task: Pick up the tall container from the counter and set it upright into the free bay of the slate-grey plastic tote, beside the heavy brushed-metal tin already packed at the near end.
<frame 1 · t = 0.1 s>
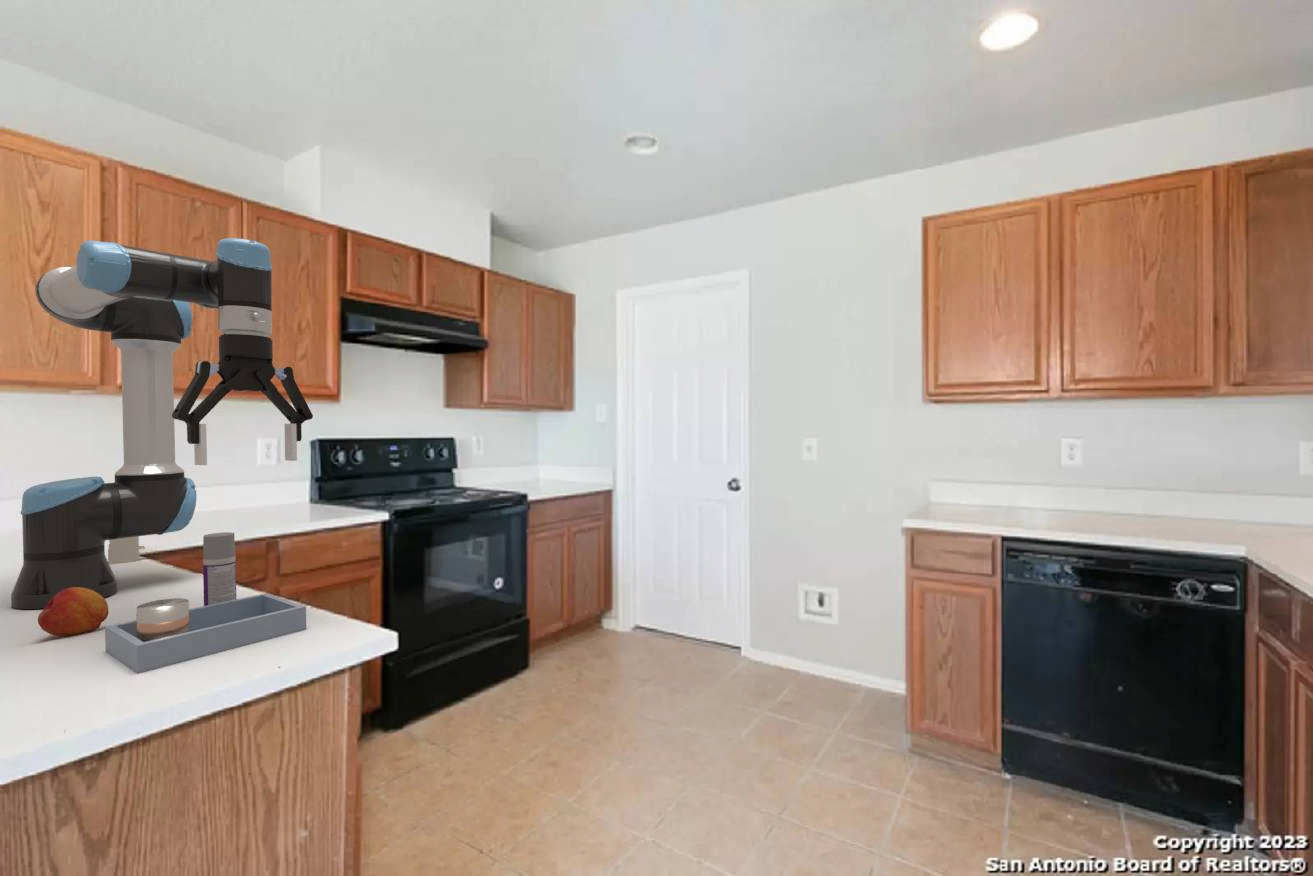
hand: (248, 462, 105), 28 cm above the countertop, fingers open, 13 cm apart
tin: (164, 651, 93), point 1 cm above the countertop, touching tote
tote: (211, 644, 98), on the countertop
container: (220, 620, 110), on the countertop
architectural model: (123, 565, 156), on the countertop
fruit: (75, 637, 102), on the countertop
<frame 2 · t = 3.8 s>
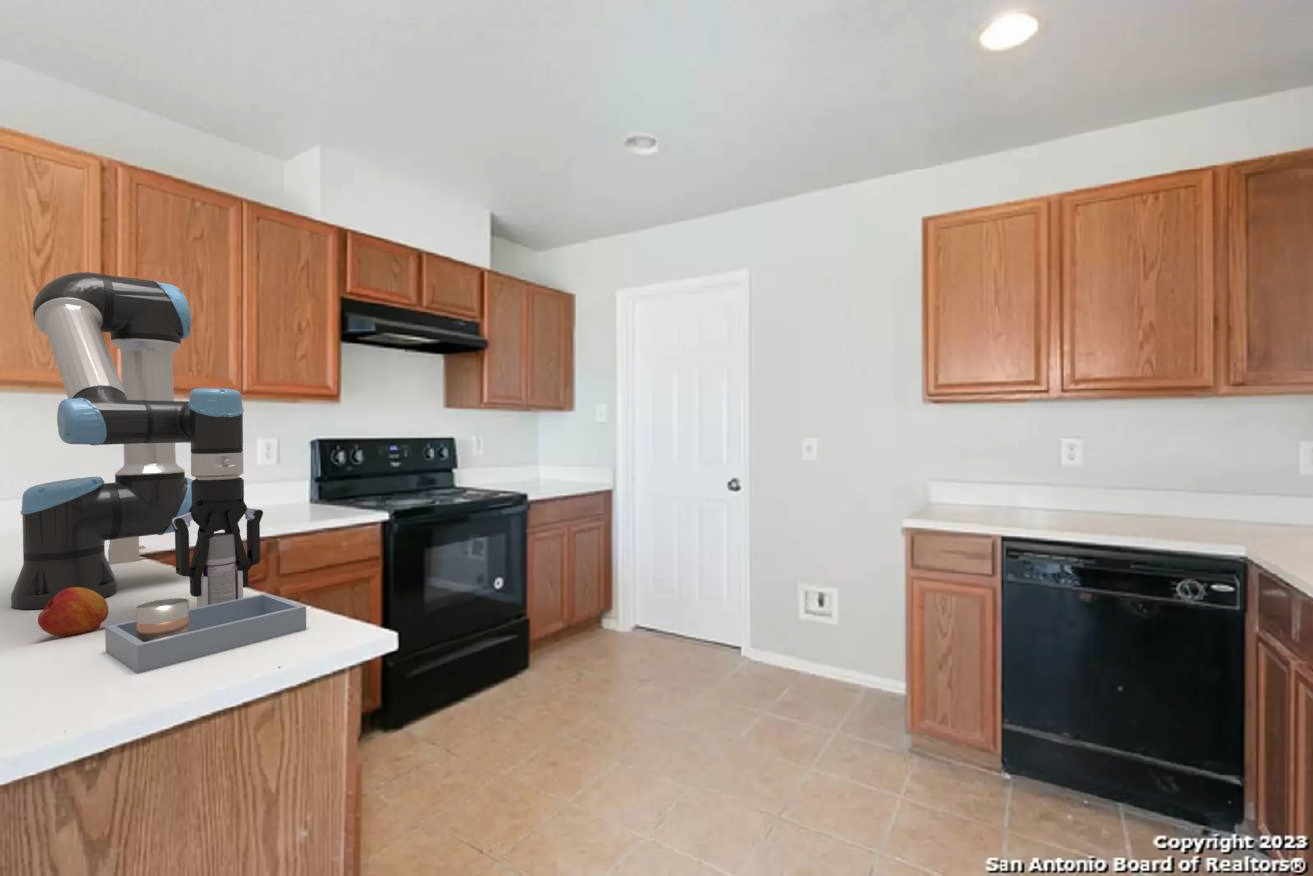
hand: (220, 609, 110), 2 cm above the countertop, fingers closed on container, 5 cm apart
container: (220, 620, 110), on the countertop, touching gripper
everything else where it was.
when the fingers open (5 cm above the countertop, at t = 9.8 s): container drops 2 cm, resting on tote.
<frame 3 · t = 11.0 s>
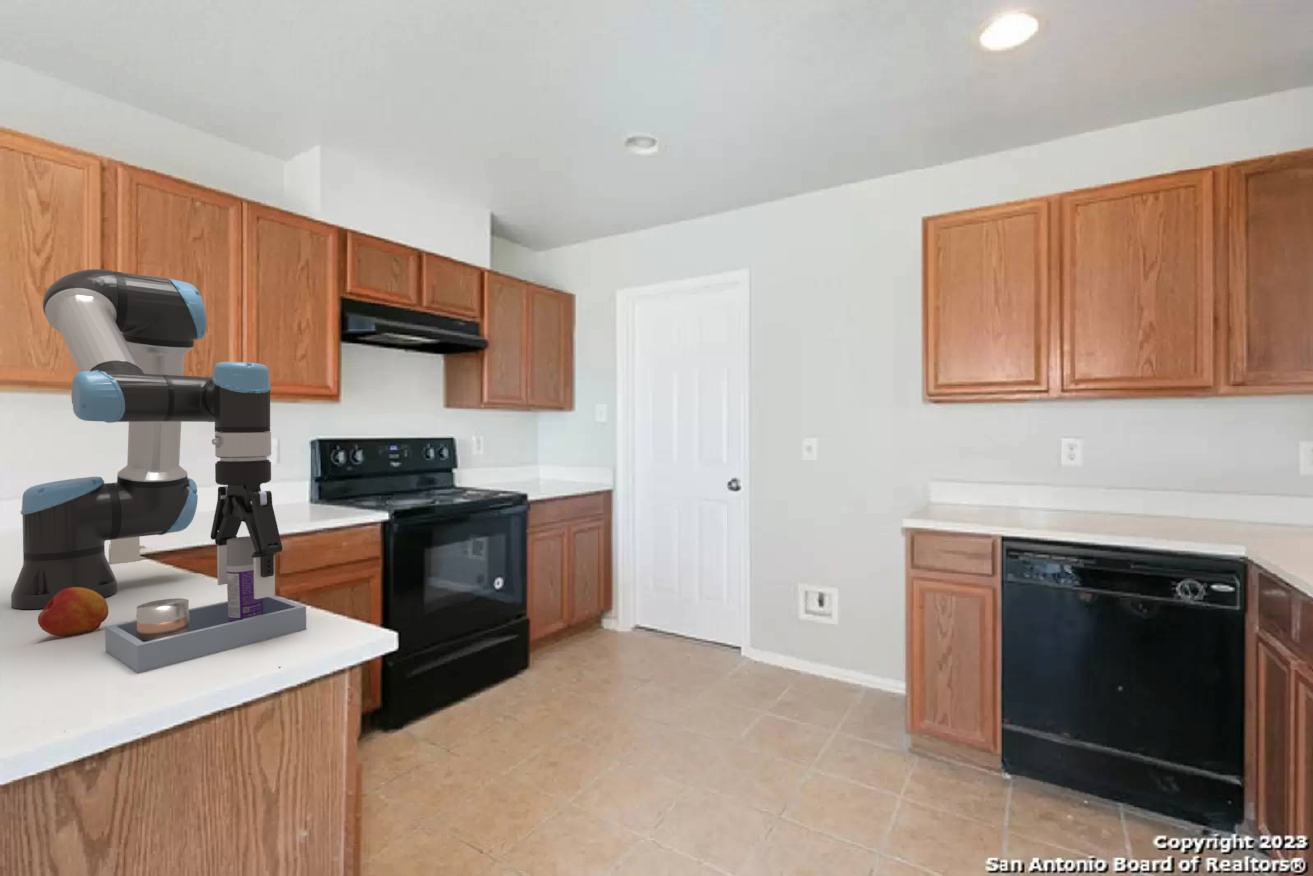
hand: (245, 590, 102), 7 cm above the countertop, fingers open, 13 cm apart
container: (246, 632, 102), point 1 cm above the countertop, touching tote
everything else where it was.
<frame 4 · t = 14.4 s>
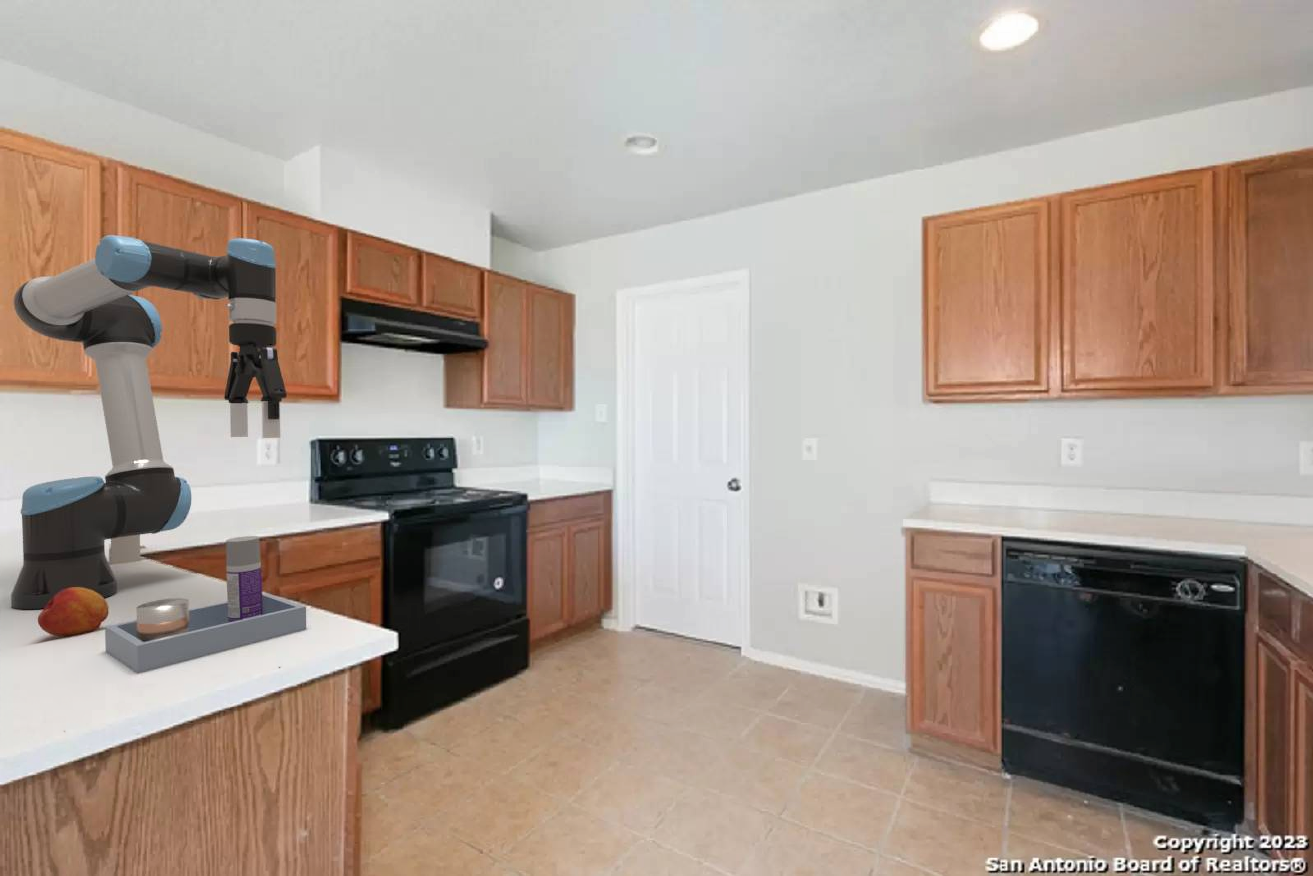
hand: (254, 437, 119), 32 cm above the countertop, fingers open, 13 cm apart
nothing on the countertop moved.
at the end: container inside the target area on the tote (0.3 cm from its centre), point 0.6 cm above the tote's base; container tilted 1°; tin moved 0.0 cm from its start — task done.
